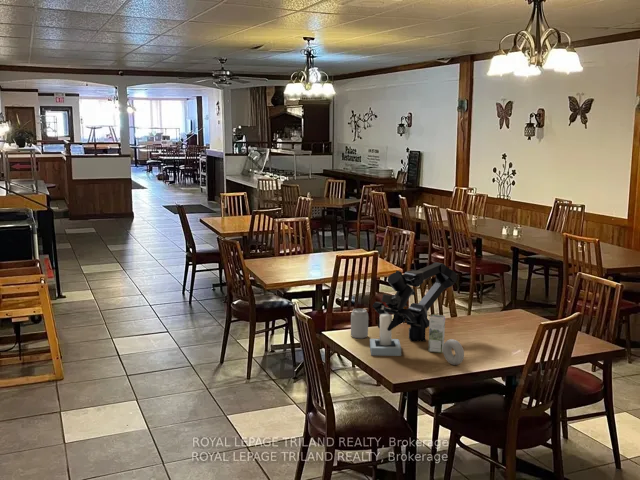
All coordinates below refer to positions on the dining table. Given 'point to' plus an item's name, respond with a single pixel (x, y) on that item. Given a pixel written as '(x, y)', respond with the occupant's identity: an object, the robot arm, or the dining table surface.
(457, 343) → the donut
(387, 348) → the caddy
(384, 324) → the white cylinder
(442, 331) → the syrup box
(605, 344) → the dining table surface
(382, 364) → the dining table surface
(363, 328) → the can
